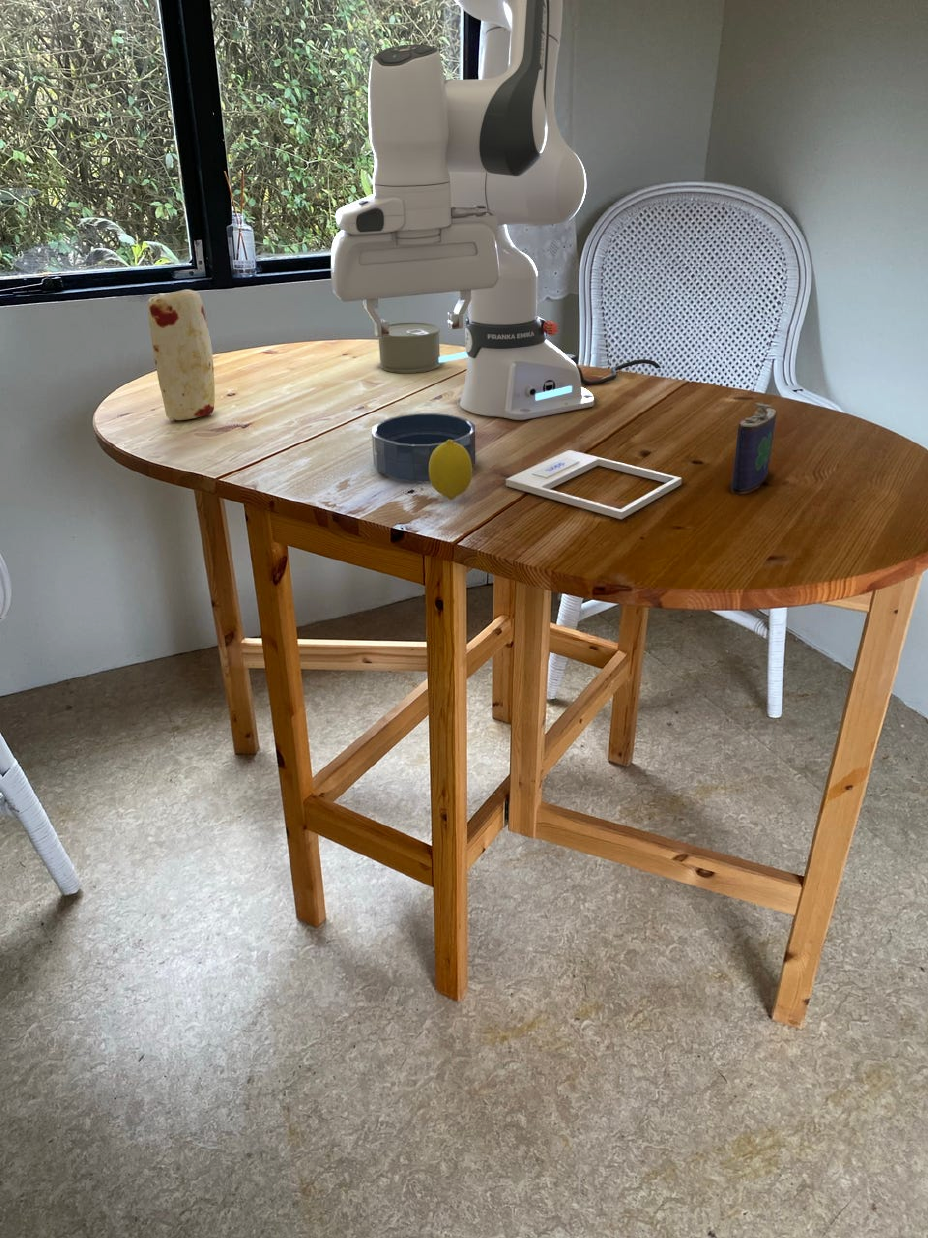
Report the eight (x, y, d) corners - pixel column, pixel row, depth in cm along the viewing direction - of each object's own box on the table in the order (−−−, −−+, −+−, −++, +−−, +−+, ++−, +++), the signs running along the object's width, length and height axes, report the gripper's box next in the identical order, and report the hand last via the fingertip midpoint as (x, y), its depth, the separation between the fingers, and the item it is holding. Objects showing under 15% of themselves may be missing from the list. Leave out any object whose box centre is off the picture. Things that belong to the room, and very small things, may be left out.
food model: (178, 427, 147) (155, 297, 137) (156, 419, 151) (132, 292, 141) (229, 413, 153) (211, 287, 143) (206, 406, 157) (187, 283, 147)
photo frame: (569, 448, 131) (681, 476, 121) (569, 455, 132) (681, 484, 121) (505, 477, 122) (621, 510, 111) (505, 485, 122) (621, 519, 112)
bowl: (458, 444, 137) (457, 408, 135) (489, 477, 125) (488, 438, 123) (365, 456, 134) (362, 419, 131) (387, 490, 122) (385, 450, 119)
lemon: (468, 509, 116) (467, 448, 112) (425, 506, 117) (422, 446, 113) (476, 492, 121) (475, 433, 117) (435, 490, 122) (433, 431, 118)
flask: (752, 470, 126) (764, 392, 120) (773, 474, 124) (786, 396, 119) (726, 491, 119) (737, 410, 114) (748, 496, 118) (760, 414, 113)
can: (416, 354, 186) (414, 319, 182) (453, 365, 178) (452, 329, 174) (367, 365, 179) (364, 328, 176) (403, 376, 171) (401, 339, 168)
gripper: (488, 201, 111) (490, 318, 119) (322, 212, 106) (333, 334, 113) (506, 206, 106) (507, 328, 113) (332, 219, 101) (344, 346, 108)
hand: (419, 331), depth 113 cm, fingers open, 8 cm apart
